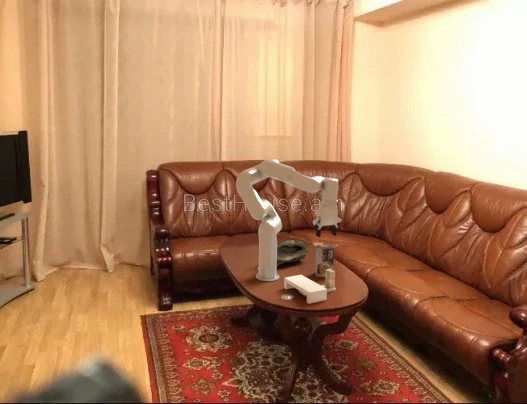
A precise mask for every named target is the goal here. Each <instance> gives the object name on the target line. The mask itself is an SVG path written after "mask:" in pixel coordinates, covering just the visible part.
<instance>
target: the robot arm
mask: <svg viewBox="0 0 527 404" xmlns="http://www.w3.org/2000/svg"><path fill="white" fill-rule="evenodd" d="M267 178H271V179H274V180H277V181H280V182H282V183H286V184H287V185H290V186H291V187H293V188H295V189H297V190H300V191H303V192H305V193H311V194H316V193H318V192H319V191H322V193H321V202H320V204H319V207H318V211H317V216H316V218H314V219H313V220H312V224H313V226H314V227H315V236H316V237H318V238H321V236H322V235H321V234H322V229H321V228H322V227H324V226H332V227H331V235H333V236H335V237H337V233H338V228H339V226H341V223H342V221H343V219H342V218H341V217H339V215H338V214H339V211H338V205H337V204H338V203H339V200H338V192H339V180H338V179H337V178H334V177H324V176H321V175H320V176H319V175H313V176H312V177H310V176H307V175H304V174H302V173H300V172H298V171H296V169H295V168H294V167H292V166H291V165H288V164H284V163H281V162H279V160H278V159H276V158H267V159H265V160H263V161H262V162H261V163H259V164H257V165H255V166H252V167H250V168H246V169H244V170H243V171H241V172H240V173H239V174H238V176H237V177H236V182H235V188H236V191H237V193H238V195H239V197H240V199H241V200H242V202H243V203H244V205H245V207H246V208H247V210H248V212H249V214H250V216H251V217H252V218H253V219H254V220H257V221H262V222H261V223H260V224H259V226H258V232H257V233H258V267H257V268H256V269H257V270H258V272H257V273H256V274H255V278H256V279H257V280H259V281H264V282H274V281H277V280H279V279H280V274H278V272H277V243H278V240H277V234H278V233H279V232H280V231H282V228H283V223H282V221H281V218H280V216H279V214H278V213H277V211H276V210H275V208H274V206H273V204H272V203H271V202H270V201H269V200H268V199H264V198H263V199H261V197H260V196H259V194H258V192H257V190H256V189H254V187H253V185H254V184H258V183H259V182H262V181H264V180H265V179H267Z"/></svg>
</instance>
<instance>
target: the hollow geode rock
mask: <svg viewBox="0 0 527 404" xmlns="http://www.w3.org/2000/svg"><path fill="white" fill-rule="evenodd" d="M308 247H309V245H308V244H307V243H306V241H304V240H302V239H293V238H291V239H286V240H284V241H282V242H277V267H279V266H280V265H282V264H285V263H286V264H287V263H292V262H298V261H301V260H304V259H305V258H306V255H308V253H309V250H308V249H307V248H308Z"/></svg>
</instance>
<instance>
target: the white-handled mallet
mask: <svg viewBox="0 0 527 404" xmlns="http://www.w3.org/2000/svg"><path fill="white" fill-rule="evenodd" d="M324 278H325V280H324V284H322V285H321V286H322V287H324V288H326V289H327V293H329V292H335V291H336V287H335V283H336V282H335V281H336V270H334V269H333V270H332V269H327V270H326V273H325V277H324ZM298 293H299V294H300V295H302V296H304V297H306V298H307V295H306V294H304V293H303V292H301V291H299V290H298Z"/></svg>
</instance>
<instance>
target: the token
mask: <svg viewBox="0 0 527 404" xmlns="http://www.w3.org/2000/svg"><path fill="white" fill-rule="evenodd" d="M280 297H281V299H282V300H285V301H291V300H293V299H294V295H293V294H289V293H284V294H282V295H281V296H280Z"/></svg>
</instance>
